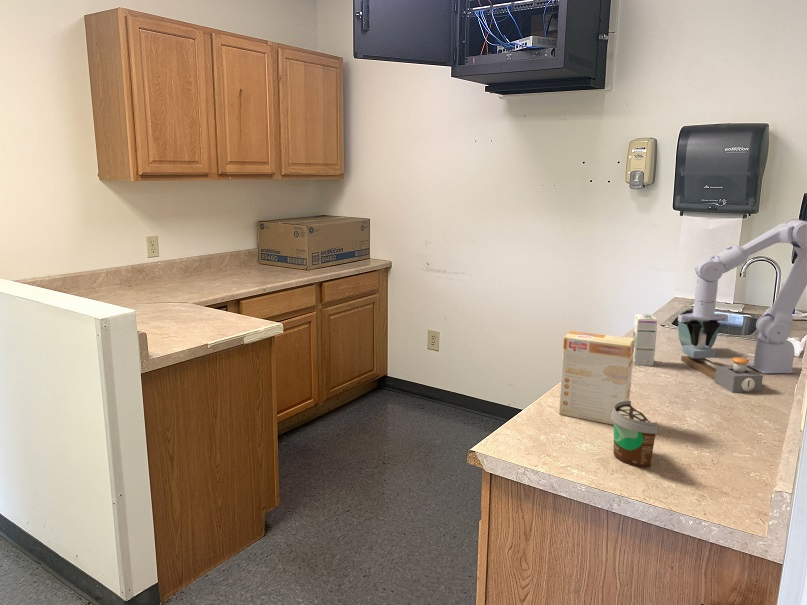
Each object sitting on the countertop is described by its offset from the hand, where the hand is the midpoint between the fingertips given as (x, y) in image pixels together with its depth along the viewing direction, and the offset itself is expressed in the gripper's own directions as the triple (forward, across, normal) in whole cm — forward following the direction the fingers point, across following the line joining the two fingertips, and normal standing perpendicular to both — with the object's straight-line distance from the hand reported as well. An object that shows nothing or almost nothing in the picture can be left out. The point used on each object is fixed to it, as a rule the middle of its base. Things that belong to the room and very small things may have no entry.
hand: (699, 344), depth 181 cm
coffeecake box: (+6, +47, +35) cm, 59 cm away
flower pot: (+6, -7, -13) cm, 16 cm away
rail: (+6, 0, +5) cm, 8 cm away
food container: (+6, +49, +56) cm, 75 cm away
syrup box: (+6, +16, -3) cm, 17 cm away
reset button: (+2, 0, +19) cm, 19 cm away
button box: (+6, 0, +19) cm, 20 cm away
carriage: (+3, 0, 0) cm, 3 cm away
